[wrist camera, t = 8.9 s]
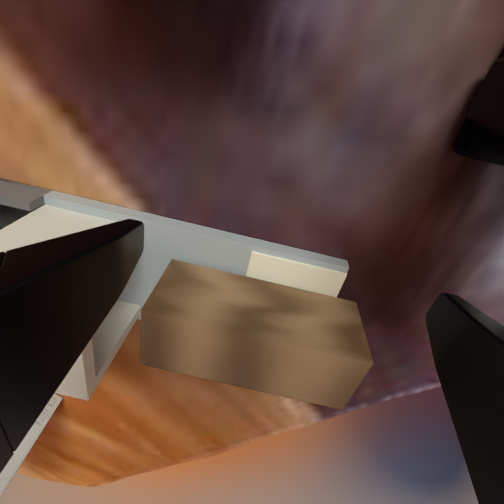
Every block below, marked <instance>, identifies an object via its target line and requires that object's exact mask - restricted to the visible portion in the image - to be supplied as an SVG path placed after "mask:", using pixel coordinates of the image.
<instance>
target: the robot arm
mask: <svg viewBox="0 0 504 504" xmlns="http://www.w3.org/2000/svg"><path fill="white" fill-rule="evenodd" d="M464 142H467V145H466V147H465V148H463V149H460V146H461V144H462V143H464ZM452 149H453V151H454V152H455V153H457V154H459V155H462V156H466V157H470V158H474V159H478V160H482V161H486V162H490V163H494V164H498V165H502V166H504V51H503V53H502V55H501V57H500V58H499V59H498V60H497V61H495V62H494V63H493V65H492V67H491V69H490V70H489V72H488V74H487V76H486V78H485V80H484V82H483V83H482V85H481V87H480V89H479V91H478V93H477V94H476V96H475V98H474V100H473V102H472V104H471V106H470V107H469V109H468V111H467V119H466V121H465V123H464V124H463V126H462V128H461V130H460V132H459V133H458V135H457V137H456V139H455V141H454V143H453V146H452ZM143 249H144V224H143V222H142V221H138V220H134V219H125V220H122V221H118V222H114V223H110V224H106V225H103V226H99V227H95V228H91V229H87V230H84V231H80V232H76V233H72V234H68V235H65V236H61V237H57V238H53V239H49V240H45V241H42V242H38V243H34V244H30V245H26V246H23V247H19V248H15V249H11V250H7V251H6V253H5V252H0V474H1V472H2V471H3V469H4V468H5V466H6V465H7V463H8V462H9V460H10V459H11V457H12V456H13V454H14V453H13V452H14V451H16V449H17V448H18V446H19V445H20V444H21V442H22V441H23V439H24V438H25V436H26V435H27V433H28V432H29V430H30V429H31V427H32V426H33V424H34V423H35V421H36V420H37V418H38V417H39V415H40V414H41V412H42V411H43V409H44V408H45V407H46V405H47V404H48V402H49V401H50V399H51V398H52V396H53V395H54V393H55V392H56V390H57V389H58V387H59V386H60V384H61V383H62V381H63V380H64V378H65V377H66V375H67V374H68V372H69V371H70V370H71V368H72V367H73V365H74V364H75V362H76V361H77V359H78V358H79V356H80V355H81V353H82V352H83V350H84V349H85V347H86V346H87V344H88V343H89V341H90V340H91V338H92V337H93V335H94V334H95V333H96V331H97V330H98V328H99V327H100V325H101V324H102V322H103V321H104V319H105V318H106V316H107V315H108V313H109V312H110V310H111V309H112V307H113V306H114V304H115V303H116V301H117V300H118V298H119V297H120V295H121V294H122V292H123V290H124V288H125V286H126V284H127V282H128V280H129V278H130V276H131V274H132V272H133V271H134V269H135V267H136V265H137V263H138V261H139V259H140V257H141V255H142V252H143ZM426 324H427V329H428V334H429V339H430V344H431V349H432V354H433V359H434V363H435V367H436V370H437V374H438V377H439V380H440V383H441V386H442V389H443V392H444V396H445V399H446V402H447V405H448V408H449V411H450V415H451V418H452V421H453V424H454V427H455V430H456V433H457V437H458V440H459V443H460V446H461V449H462V452H463V456H464V459H465V462H466V465H467V468H468V471H469V474H470V478H471V481H472V484H473V487H474V490H475V493H476V496H477V500H478V503H479V504H504V326H503V325H502V324H500V323H499V322H497V321H495V320H494V319H492V318H491V317H489V316H488V315H486V314H485V313H483V312H482V311H480V310H479V309H477V308H476V307H474V306H473V305H471V304H470V303H468V302H467V301H465V300H464V299H462V298H461V297H459V296H457V295H454V294H450V293H441V294H440V295H439V296H438V297H437V298H436V300H435V301H434V303H433V304H432V305H431V307H430V308H429V310H428V311H427V313H426Z"/></svg>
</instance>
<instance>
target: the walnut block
mask: <svg viewBox="0 0 504 504" xmlns="http://www.w3.org/2000/svg"><path fill="white" fill-rule="evenodd" d="M140 364H142V365H146V366H150V367H155V368H159V369H164V370H168V371H172V372H177V373H181V374H186V375H190V376H195V377H199V378H203V379H208V380H212V381H217V382H221V383H225V384H230V385H234V386H239V387H243V388H247V389H252V390H256V391H261V392H265V393H270V394H274V395H278V396H283V397H287V398H292V399H296V400H300V401H305V402H309V403H314V404H318V405H322V406H327V407H331V408H336V409H340V410H343V409H344V408H345V406H346V404H347V403H348V401H349V400H350V398H351V397H352V395H353V394H354V392H355V391H356V389H357V388H358V386H359V385H360V383H361V382H362V380H363V379H364V377H365V376H366V374H367V373H368V371H369V369H370V368H371V366H372V365H373V360H372V356H371V353H370V349H369V346H368V342H367V338H366V335H365V331H364V328H363V324H362V321H361V317H360V314H359V310H358V306H357V303H356V302H353V301H349V300H345V299H341V298H336V297H332V296H328V295H324V294H319V293H315V292H311V291H307V290H302V289H298V288H294V287H290V286H285V285H281V284H277V283H272V282H268V281H264V280H260V279H255V278H251V277H247V276H243V275H238V274H234V273H230V272H226V271H221V270H217V269H213V268H208V267H204V266H200V265H196V264H191V263H187V262H183V261H179V260H174V259H171V261H170V263H169V264H168V266H167V268H166V269H165V271H164V273H163V274H162V276H161V277H160V279H159V281H158V282H157V284H156V286H155V287H154V289H153V291H152V292H151V294H150V296H149V297H148V299H147V301H146V302H145V304H144V305H143V307H142V309H141V328H140Z"/></svg>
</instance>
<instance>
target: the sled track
mask: <svg viewBox="0 0 504 504" xmlns="http://www.w3.org/2000/svg"><path fill="white" fill-rule="evenodd" d="M125 219H134V220H138V221H142V222H143V224H144V249H143V252H142V255H141V257H140V259H139V261H138V263H137V265H136V267H135V269H134V271H133V272H132V274H131V276H130V278H129V280H128V282H127V284H126V286H125V288H124V290H123V292H122V294H121V295H120V297H119V298H118V300H117V301H116V303H115V304H114V306H113V307H112V309H111V310H110V312H109V313H108V315H107V316H106V318H105V319H104V321H103V322H102V324H101V325H100V327H99V328H98V330H97V331H96V333H95V334H94V335H93V337H92V338H91V340H90V341H89V343H88V344H87V346H86V347H85V349H84V350H83V352H82V353H81V355H80V356H79V358H78V359H77V361H76V362H75V364H74V365H73V367H72V368H71V370H70V371H69V372H68V374H67V375H66V377H65V378H64V380H63V381H62V383H61V384H60V386H59V387H58V389H57V390H56V392H55V393H56V394H61V395H65V396H70V397H74V398H79V399H83V400H88V401H89V399H90V397H91V396H92V394H93V392H94V391H95V389H96V387H97V386H98V384H99V382H100V381H101V379H102V377H103V376H104V374H105V372H106V371H107V369H108V367H109V366H110V364H111V362H112V361H113V359H114V357H115V356H116V354H117V352H118V351H119V349H120V347H121V346H122V344H123V342H124V341H125V339H126V337H127V336H128V334H129V332H130V331H131V329H132V327H133V326H134V324H135V322H136V321H137V319H138V320H141V309H142V307H143V305H144V304H145V302H146V301H147V299H148V297H149V296H150V294H151V292H152V291H153V289H154V287H155V286H156V284H157V282H158V281H159V279H160V277H161V276H162V274H163V273H164V271H165V269H166V268H167V266H168V264H169V263H170V261H171V259H174V260H179V261H183V262H187V263H191V264H196V265H200V266H204V267H208V268H213V269H217V270H221V271H226V272H230V273H234V274H238V275H243V276H247V277H251V278H255V279H260V280H264V281H268V282H272V283H277V284H281V285H285V286H290V287H294V288H298V289H302V290H307V291H311V292H315V293H319V294H324V295H328V296H332V297H336V298H337V296H338V293H339V291H340V289H341V287H342V285H343V283H344V281H345V279H346V276H347V272H348V270H349V265H348V262H347V260H344V259H340V258H335V257H331V256H327V255H323V254H319V253H314V252H310V251H306V250H302V249H297V248H293V247H289V246H285V245H281V244H276V243H272V242H268V241H264V240H260V239H255V238H251V237H247V236H243V235H238V234H234V233H230V232H226V231H222V230H217V229H213V228H209V227H205V226H200V225H196V224H192V223H188V222H184V221H179V220H175V219H171V218H167V217H163V216H158V215H154V214H150V213H146V212H141V211H137V210H133V209H129V208H125V207H120V206H116V205H112V204H108V203H104V202H99V201H95V200H91V199H87V198H82V197H78V196H74V195H70V194H66V193H61V192H57V191H53V190H49V189H44V188H40V187H36V186H32V185H28V184H23V183H19V182H15V181H11V180H7V179H2V178H0V252H5V253H6V251H7V250H11V249H15V248H19V247H23V246H26V245H30V244H34V243H38V242H42V241H45V240H49V239H53V238H57V237H61V236H65V235H68V234H72V233H76V232H80V231H84V230H87V229H91V228H95V227H99V226H103V225H106V224H110V223H114V222H118V221H122V220H125Z"/></svg>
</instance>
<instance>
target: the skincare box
mask: <svg viewBox="0 0 504 504" xmlns="http://www.w3.org/2000/svg"><path fill="white" fill-rule="evenodd" d="M62 399H63V397H61V396H59V395H57V394H55V393H54V395H53V396H52V398H51V399H50V401H49V402H48V404H47V405H46V407H45V408H44V409H43V411H42V412H41V414H40V415H39V417H38V418H37V420H36V421H35V423H34V424H33V426H32V427H31V429H30V430H29V432H28V433H27V435H26V436H25V438H24V439H23V441H22V442H21V444H20V445H19V446H18V448H17V449H16V451H14V452H13V453H14V454H13V456H12V457H11V459H10V460H9V462H8V463H7V465H6V466H5V468H4V469H3V471H2V472H1V474H0V497H1V496H2V494H3V493H4V491H5V489H6V488H7V486H8V485H9V483H10V482H11V480H12V478H13V477H14V475H15V474H16V472H17V470H18V469H19V467H20V466H21V464H22V462H23V461H24V459H25V458H26V456H27V454H28V453H29V451H30V450H31V448H32V447H33V445H34V443H35V442H36V440H37V439H38V437H39V435H40V434H41V432H42V431H43V429H44V427H45V426H46V424H47V423H48V421H49V420H50V418H51V416H52V415H53V413H54V412H55V410H56V408H57V407H58V405H59V404H60V402H61V400H62Z"/></svg>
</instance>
